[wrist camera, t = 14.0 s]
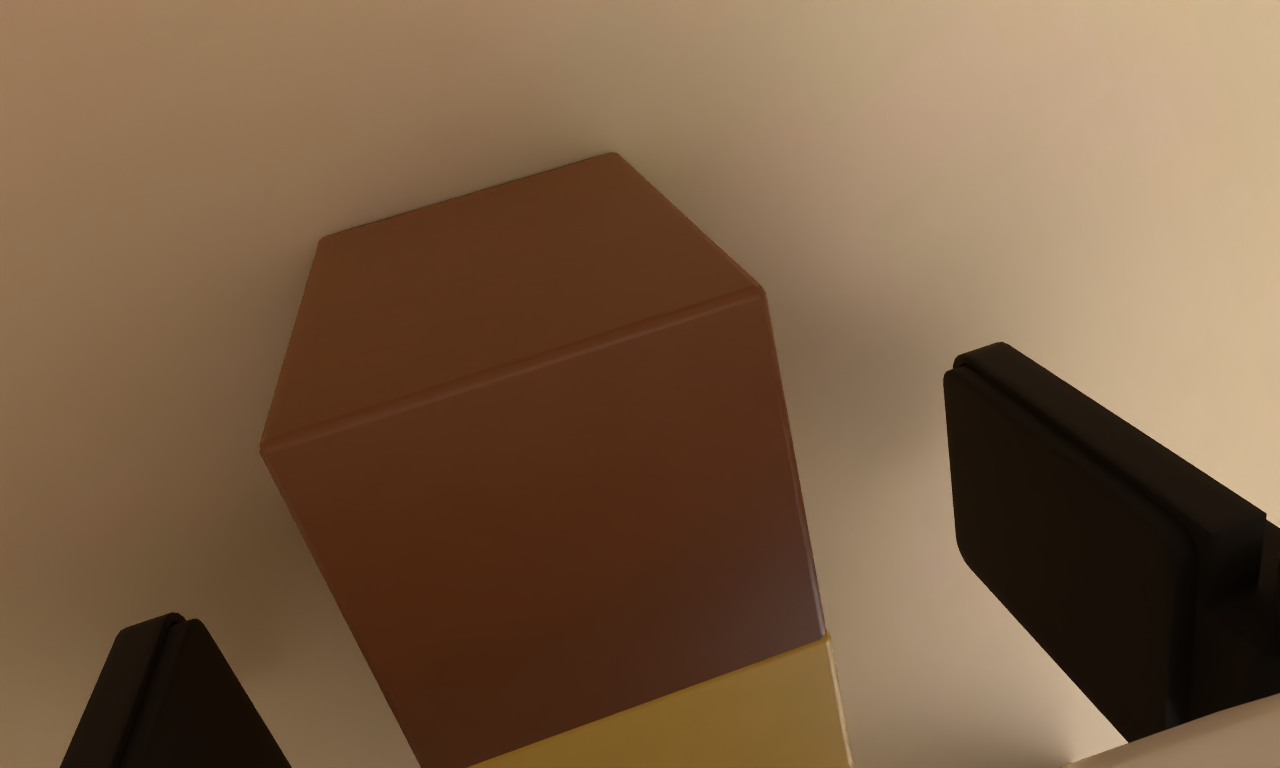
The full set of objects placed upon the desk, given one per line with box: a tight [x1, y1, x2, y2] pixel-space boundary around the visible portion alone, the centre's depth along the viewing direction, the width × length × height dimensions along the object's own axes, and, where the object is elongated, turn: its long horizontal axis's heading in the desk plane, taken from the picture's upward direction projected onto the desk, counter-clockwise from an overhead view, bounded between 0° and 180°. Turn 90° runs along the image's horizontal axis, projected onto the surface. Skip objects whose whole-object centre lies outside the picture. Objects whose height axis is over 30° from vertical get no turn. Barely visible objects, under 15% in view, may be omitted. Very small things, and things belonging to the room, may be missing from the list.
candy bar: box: [259, 153, 854, 768], centre depth 10 cm, size 4×9×5 cm, turn 13°
